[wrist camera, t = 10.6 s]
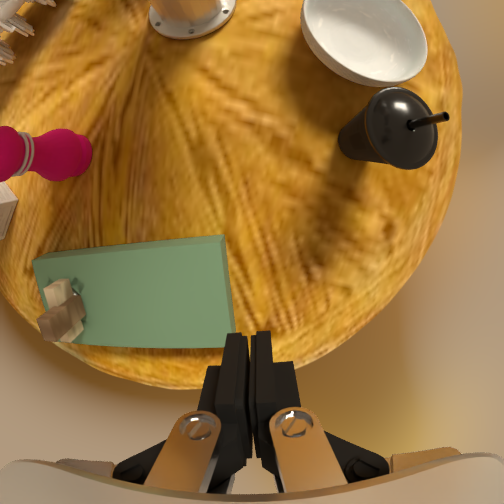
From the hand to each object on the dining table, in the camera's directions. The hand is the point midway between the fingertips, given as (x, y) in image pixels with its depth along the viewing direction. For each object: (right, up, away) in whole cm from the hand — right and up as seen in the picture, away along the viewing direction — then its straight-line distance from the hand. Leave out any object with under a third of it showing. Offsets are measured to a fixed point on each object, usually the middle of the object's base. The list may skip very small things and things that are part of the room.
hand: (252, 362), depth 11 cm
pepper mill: (-26, +18, +24) cm, 40 cm away
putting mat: (-18, -1, +29) cm, 34 cm away
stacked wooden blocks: (-25, -3, +24) cm, 35 cm away
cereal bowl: (+14, +33, +19) cm, 41 cm away
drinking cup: (+13, +19, +23) cm, 33 cm away
